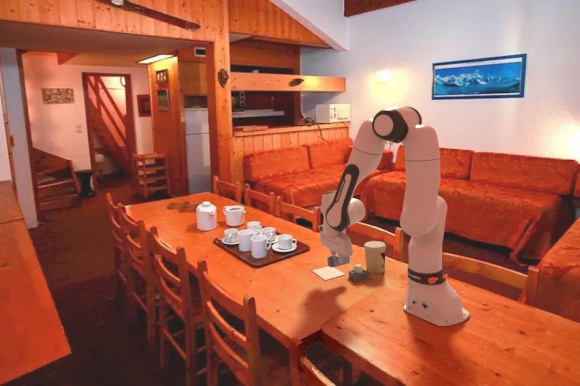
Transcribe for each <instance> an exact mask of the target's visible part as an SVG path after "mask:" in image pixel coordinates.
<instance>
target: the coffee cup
mask: <svg viewBox="0 0 580 386" xmlns="http://www.w3.org/2000/svg"><path fill="white" fill-rule="evenodd" d="M363 248H364V257H365V264H366V271H367V272H369V273H371V274H381V273H383V272H385V269H386V248H387V245H386V243H385V242H383V241H381V240H380V241H379V240H370V241H367V242H365V243H364V245H363Z"/></svg>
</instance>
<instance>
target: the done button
mask: <svg viewBox="0 0 580 386" xmlns="http://www.w3.org/2000/svg"><path fill="white" fill-rule="evenodd" d="M353 269H354V273H355V274H361V273H363V269H364V266H363V265H362V264H361V263H360V264H359V263H357V264H354V265H353Z"/></svg>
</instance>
